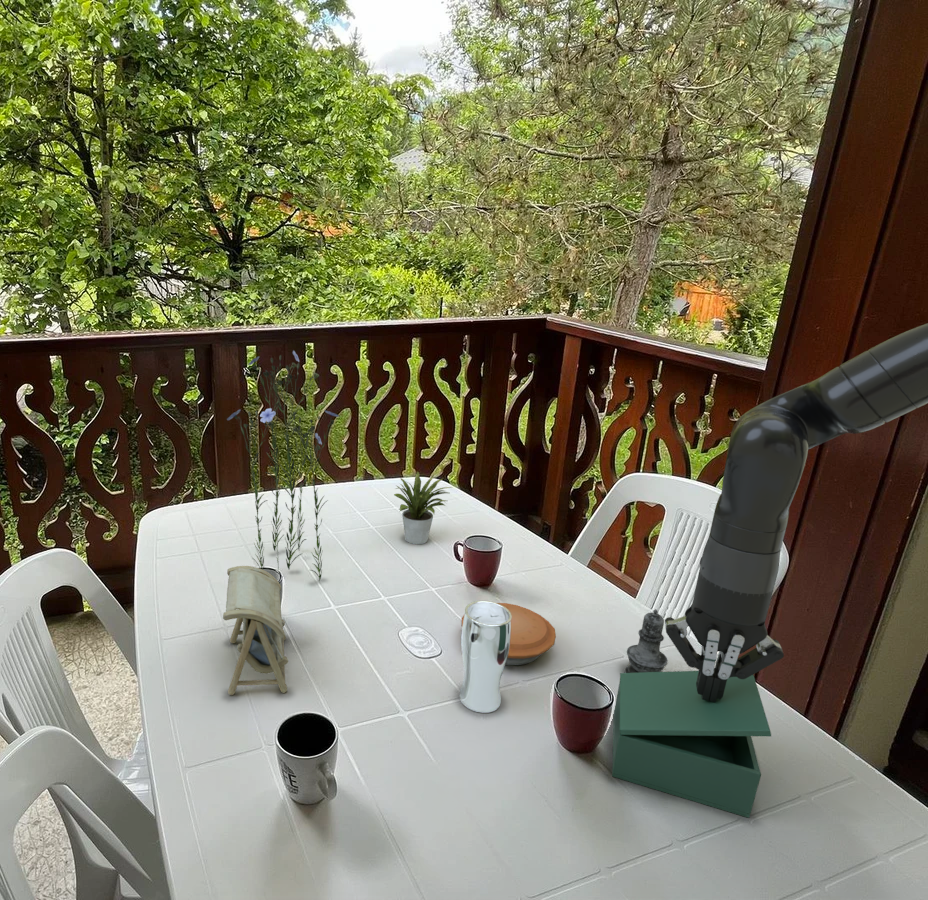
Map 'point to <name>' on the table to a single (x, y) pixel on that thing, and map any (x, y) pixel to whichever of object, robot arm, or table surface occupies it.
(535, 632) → the pie
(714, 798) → the green open box
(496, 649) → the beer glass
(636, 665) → the stone chess piece
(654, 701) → the lid
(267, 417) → the wildflower
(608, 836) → the table surface
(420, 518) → the house plant
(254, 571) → the swing bench
